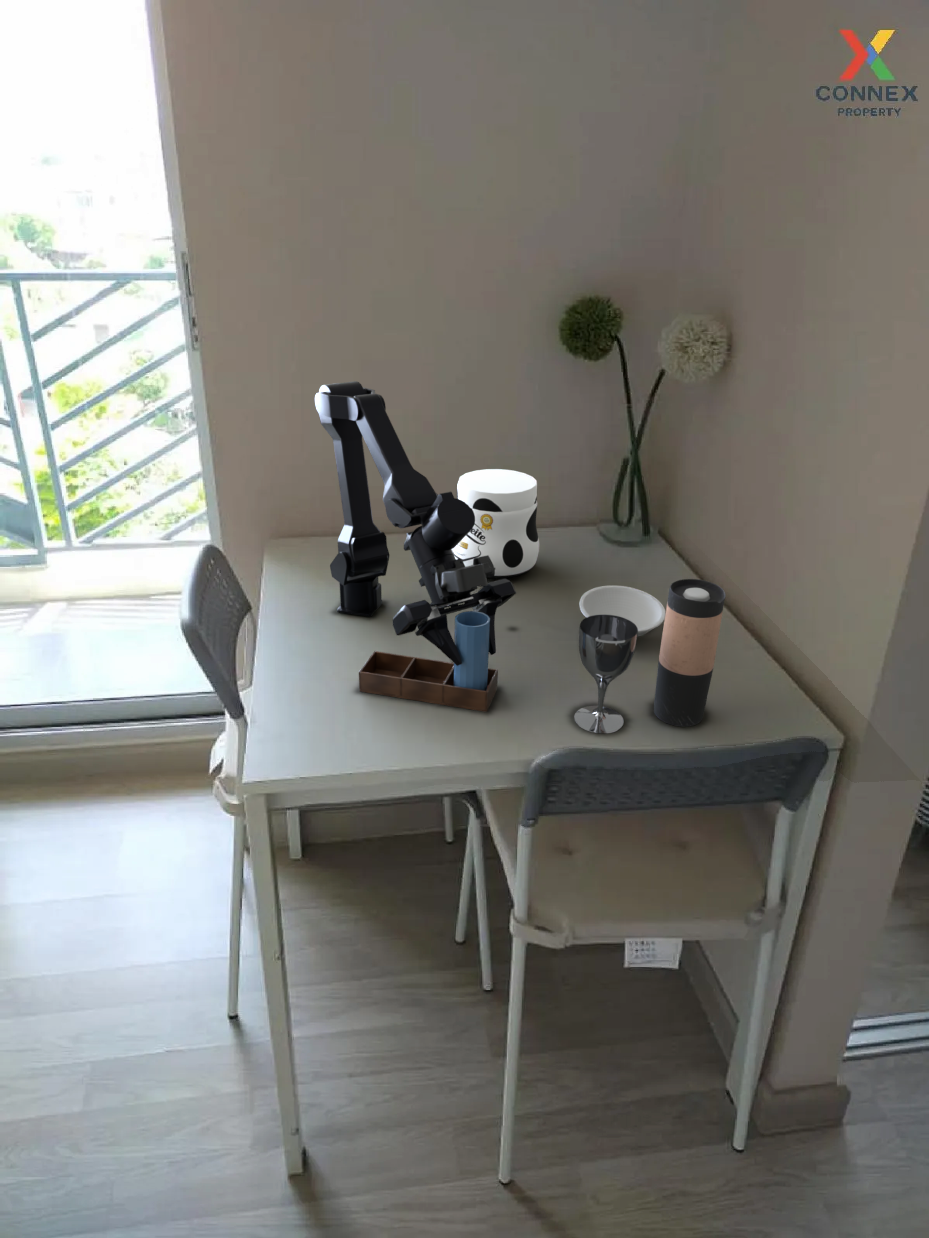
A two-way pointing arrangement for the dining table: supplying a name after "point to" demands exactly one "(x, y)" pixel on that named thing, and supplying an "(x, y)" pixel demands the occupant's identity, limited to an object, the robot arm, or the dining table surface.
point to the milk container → (500, 520)
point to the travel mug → (688, 651)
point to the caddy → (422, 681)
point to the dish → (624, 606)
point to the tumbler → (472, 650)
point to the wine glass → (604, 665)
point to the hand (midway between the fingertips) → (476, 659)
